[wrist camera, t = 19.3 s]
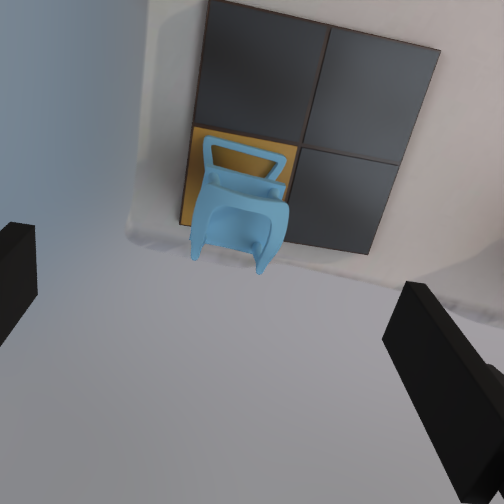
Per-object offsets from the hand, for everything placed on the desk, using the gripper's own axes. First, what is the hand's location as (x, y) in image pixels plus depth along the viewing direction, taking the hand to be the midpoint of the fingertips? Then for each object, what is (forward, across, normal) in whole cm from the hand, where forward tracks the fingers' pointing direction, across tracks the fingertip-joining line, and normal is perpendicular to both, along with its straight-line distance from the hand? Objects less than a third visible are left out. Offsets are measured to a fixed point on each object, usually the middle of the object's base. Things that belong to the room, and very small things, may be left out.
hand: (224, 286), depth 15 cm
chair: (+26, +2, -5) cm, 27 cm away
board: (+27, +7, 0) cm, 28 cm away
